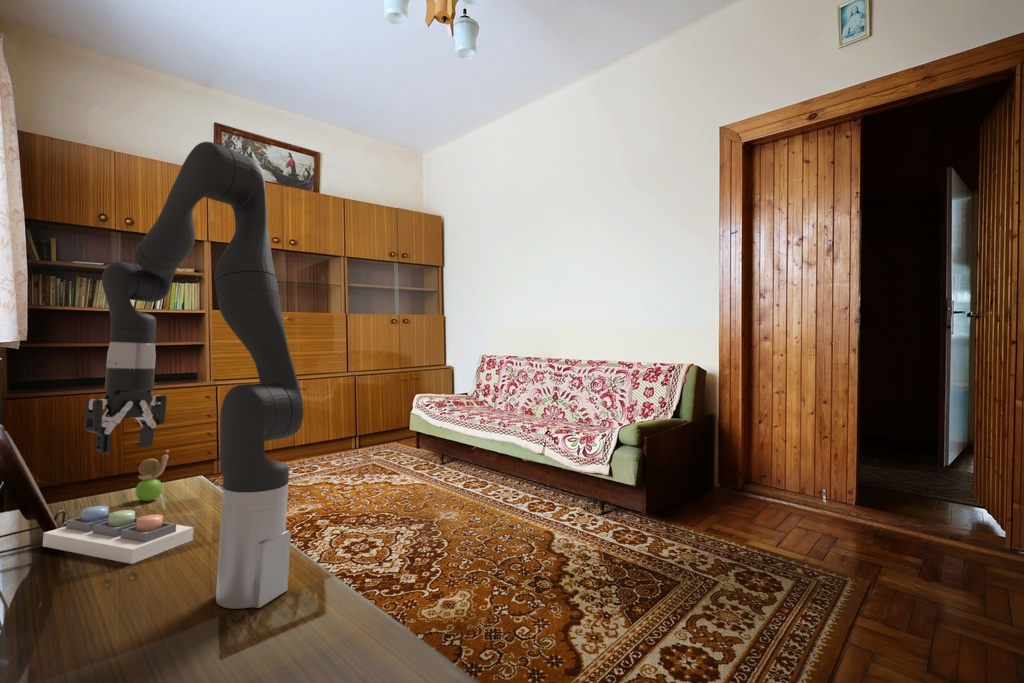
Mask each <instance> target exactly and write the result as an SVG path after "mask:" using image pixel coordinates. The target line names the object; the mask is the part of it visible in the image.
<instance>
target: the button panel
mask: <svg viewBox="0 0 1024 683" xmlns="http://www.w3.org/2000/svg"><path fill="white" fill-rule="evenodd" d="M110 513H111V512H108V518H106V519H103V520H99V521H96V522H90V523H87V522H82V521H81V516H78V517H74V518H70V519H67V520H66V521H65V526H62V527H59V528H56V529H53V530H48V531H44V532H43V537H42V547H43V548H44V547H45V548H50V549H55V550H59V551H64V552H69V553H70V552H71V553H75V554H80V555H85V556H90V557H95V558H99V559H100V558H101V559H104V560H112V561H116V562H120V563H126V564H131V565H133V564H135V563H138V562H141V561H143V560H145V559H148V558H151V557H153V556H156V555H159V554H160V553H161V554H162V553H164V552H166V551H168V550H171V549H173V548H177V547H179V546H181V545H184V544H186V543H189V542H191V541H193V540H194V526H187V525H183V524H176V523H174V522H173V523H172V522H167V521H162V528H159V529H157V530H154V531H151V532H139V531H136V523H137V519H138V518H139V517H136V516H135V521H134V523H132V524H129V525H125V526H122V527H110V526H108V519H109V514H110Z"/></svg>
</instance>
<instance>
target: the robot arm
mask: <svg viewBox="0 0 1024 683" xmlns="http://www.w3.org/2000/svg"><path fill="white" fill-rule="evenodd" d="M266 188H267V187H266V179H265V175H264V172H263V169H262V167H261V165H260V164H259V162H257V161H256V160H255V159H254V158H252V157H250V156H248V155H246V154H244V153H241V152H238V151H236V150H233V149H231V148H229V147H226V146H224V145H221V144H217V143H215V142H212V141H202V142H198V144H196V145H195V146H194V147H193V149H191V151H190V152H189V154H188V155H187V156H186V158H185V159H184V162H183V164H182V166H181V168H180V170H179V172H178V174H177V176H176V179H175V180H174V183H173V185H172V187H171V188H170V189H171V190H170V191H169V193H168V196H167V198H166V200H165V203H164V205H163V208H162V210H161V212H160V213H159V215H158V217H157V219H156V221H155V223H154V224H153V225H152V226H151V228H150V230H148V232H147V233H146V234H145V235H144V237H143V238H142V240H141V241H140V242H139V244H137V247H136V248H135V250H134V253H133V257H134V260H135V262H136V263H130V262H124V261H114V262H112V263H110V264H109V265H107V266H106V267H105V269H104V270H103V272H102V276H101V283H102V289H103V292H104V296H105V299H106V303H107V306H108V311H109V314H110V315H109V318H110V334H109V335H110V336H109V347H108V348H107V354H106V355H107V356H106V365H105V366H106V368H105V379H104V380H105V381H104V389H105V391H106V394H105V397H104V398H98V399H97V398H88V399H86V401H85V414H84V431H85V432H90V433H94V434H95V436H96V440H95V441H96V442H95V451H96V452H97V454H99V455H104V456H106V455H110V454H111V451H112V438H113V436H112V435H113V434H111V433H112V431H113V430H114V429H115V427H116V426H117V425H118V424H120V423H121V422H122V420H124V419H125V420H126V419H130V418H133V419H135V420H137V422H138V423H139V425H140V426H141V428H139V430H140V432H139V442H138V444H139V447H140V448H144V449H147V448H151V446H152V445H153V441H154V432H155V429H156V427H157V426H159V425H164V423H165V420H166V408H167V400H168V399H167V395H165V394H164V395H163V394H153V395H152V390H154V387H155V374H156V356H157V354H156V336H157V334H156V333H157V320H156V316H153V315H152V314H151V313H150V314H149V313H147V312H142V311H139V310H137V309H136V308H135V307H134V305H133V304H132V301H139V302H149V303H154V302H159V301H162V300H163V299H165V298H166V297H167V296H168V295H169V293H170V290H171V286H172V282H173V279H174V276H175V273H176V271H177V269H178V268H179V266H180V265H181V263H182V262H183V261H184V260H185V259H186V258H187V256H188V255H189V254H190V252H191V251H192V249H193V247H194V246H195V242H196V241H195V240H196V229H195V223H194V217H193V216H194V215H193V214H194V208H195V206H197V204H198V203H199V202H200V201H201V200H202V199H204V198H206V199H209V200H211V201H216V202H219V203H223V204H227V205H229V206H231V208H232V210H233V215H234V223H235V225H234V227H235V228H234V234H233V236H232V238H231V240H230V242H229V243H228V244H227V247H225V249H224V250H223V252H222V254H221V255H220V257H219V258H218V260H217V263H216V265H215V269H214V274H213V275H214V284H215V292H216V298H217V304H218V309H219V311H220V314H221V316H222V317H223V320H224V321H225V322H226V324H227V325H228V327H229V328H230V329H231V331H232V332H233V333H234V334H235V335H236V337H237V338H238V340H239V341H240V342H241V344H242V345H243V346H244V347H245V348H246V350H247V351H248V353H249V355H250V356H251V358H252V360H253V363H254V364H255V367H256V371H257V376H258V381H259V383H246V384H244V383H243V384H238V385H236V386H233V387H232V388H231V389H230V390H229V391H227V393H226V395H225V396H224V399H223V401H222V404H221V409H220V417H219V418H220V419H219V420H220V422H219V427H220V428H219V430H220V431H219V432H220V433H219V434H220V436H219V440H220V441H219V442H220V443H219V445H220V447H219V460H220V461H219V464H220V469H221V473H222V478H223V479H222V480H223V481H222V496H221V498H222V499H221V512H220V525H219V526H220V527H219V543H218V544H219V545H218V557H217V558H218V560H217V575H216V576H217V577H216V590H215V602H216V605H219V607H222V608H224V609H225V608H227V609H233V610H236V609H249V608H255V609H256V608H257V609H260V608H262V607H263V606H265V605H266V604H268V603H269V602H271V601H273V600H274V599H276V598H278V597H279V596H280V595H282V594H284V593H285V592H287V591H288V586H289V571H290V554H291V553H290V552H291V535H292V533H291V531H290V530H288V529H286V525H287V511H288V510H287V509H288V494H289V492H288V491H289V477H290V476H289V474H290V469H289V467H288V466H289V465H287V464H286V463H285V462H282V461H278V460H274V459H273V460H272V459H269V458H268V457H267V456H266V451H265V450H266V449H265V448H266V447H265V442H267V441H275V440H280V439H285V438H290V437H293V436H294V435H296V434H297V433H298V431H299V430H300V429H301V427H302V424H303V421H304V414H305V413H304V412H305V411H304V410H305V408H304V400H303V394H302V392H301V391H302V390H301V387H300V384H299V380H298V377H297V373H296V371H295V367H294V363H293V359H292V355H291V352H290V348H289V344H288V338H287V335H286V334H287V333H286V330H285V324H284V323H285V322H284V320H283V319H284V318H283V314H282V307H281V298H280V292H279V286H278V279H277V275H276V271H275V266H274V260H273V255H272V253H273V252H272V248H271V247H272V246H271V240H270V239H271V238H270V232H269V224H268V223H269V221H268V207H267V206H268V204H267V203H268V202H267V192H266V191H267V189H266ZM150 405H151V407H150V409H149V406H150ZM105 409H106V410H105ZM103 410H105V411H104V413H103Z"/></svg>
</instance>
